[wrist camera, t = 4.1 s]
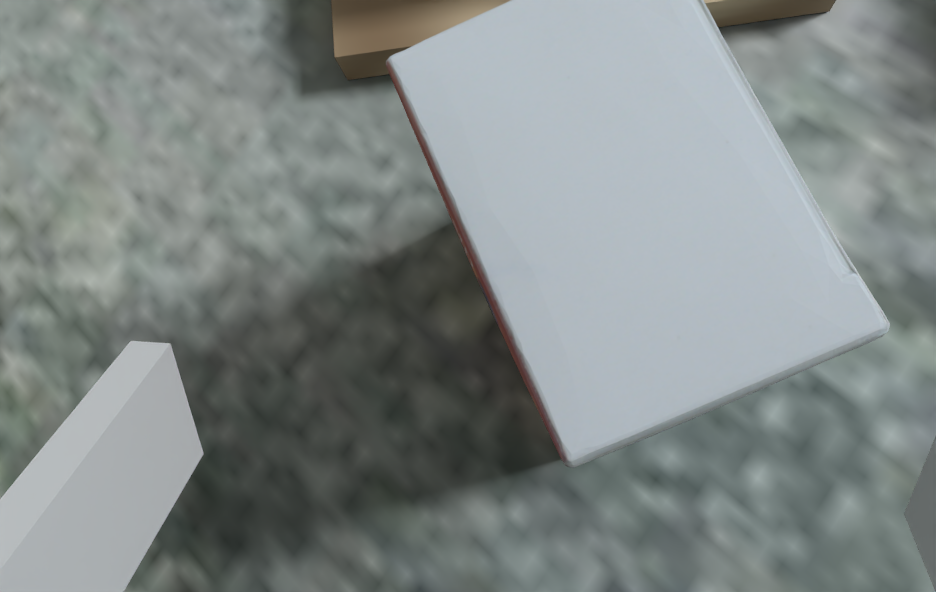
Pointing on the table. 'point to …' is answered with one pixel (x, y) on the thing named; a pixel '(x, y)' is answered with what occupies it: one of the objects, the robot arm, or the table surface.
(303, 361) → the table surface
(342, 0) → the tan wooden flat tray
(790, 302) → the small box
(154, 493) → the robot arm
